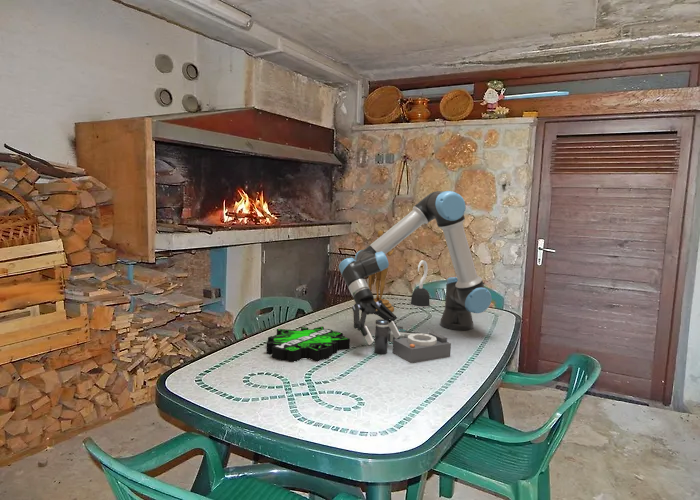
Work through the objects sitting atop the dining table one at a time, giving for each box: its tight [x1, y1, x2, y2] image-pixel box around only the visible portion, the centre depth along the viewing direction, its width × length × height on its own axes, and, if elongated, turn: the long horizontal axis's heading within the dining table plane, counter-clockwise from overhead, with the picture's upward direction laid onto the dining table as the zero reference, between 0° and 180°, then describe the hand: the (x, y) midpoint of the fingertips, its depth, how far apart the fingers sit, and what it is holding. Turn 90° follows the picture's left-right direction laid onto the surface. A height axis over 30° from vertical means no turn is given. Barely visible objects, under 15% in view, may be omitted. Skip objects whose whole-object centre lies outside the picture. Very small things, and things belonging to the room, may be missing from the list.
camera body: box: [392, 331, 452, 364], centre depth 177 cm, size 18×12×7 cm, turn 118°
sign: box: [265, 325, 351, 363], centre depth 180 cm, size 33×4×30 cm
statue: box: [368, 229, 395, 313], centre depth 242 cm, size 17×17×41 cm
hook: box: [410, 259, 430, 308], centre depth 257 cm, size 11×11×25 cm
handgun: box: [388, 326, 430, 343], centre depth 196 cm, size 4×22×15 cm
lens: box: [373, 319, 389, 355], centre depth 178 cm, size 5×5×12 cm
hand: (385, 340), depth 176 cm, fingers open, 13 cm apart
